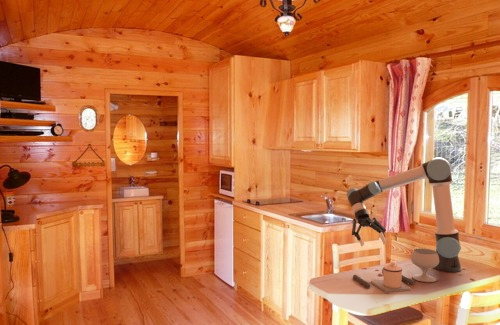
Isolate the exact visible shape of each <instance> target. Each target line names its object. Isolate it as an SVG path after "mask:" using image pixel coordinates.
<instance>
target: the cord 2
mask: <svg viewBox="0 0 500 325" xmlns="http://www.w3.org/2000/svg"><path fill="white" fill-rule="evenodd" d="M402 282H404V283H406V284H408V285H410V286H412V285H414V281H413V280H411V279H410V278H408V277H406V276H405V275H403V274H402Z"/></svg>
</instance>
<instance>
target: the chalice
mask: <svg viewBox="0 0 500 325" xmlns="http://www.w3.org/2000/svg"><path fill="white" fill-rule="evenodd" d="M410 261H411V263H412V264H413V265H415V266H416V267H418V268H419V269H420V270H421V271H422V273H421V274H419V273H416V274H414V275H412V276H411V278H412V279H413V280H415V281H419V282H422V283H434V282H437V281H438V280H437V278H436V277H434V276H432V275H428V274H427V272H428V270H430V269H434V268H433V267H436V266H437V265H438V264H439V256H438V254H437V252H436V250H433V249H430V248H414V249H413V250H412V252H411V254H410Z"/></svg>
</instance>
